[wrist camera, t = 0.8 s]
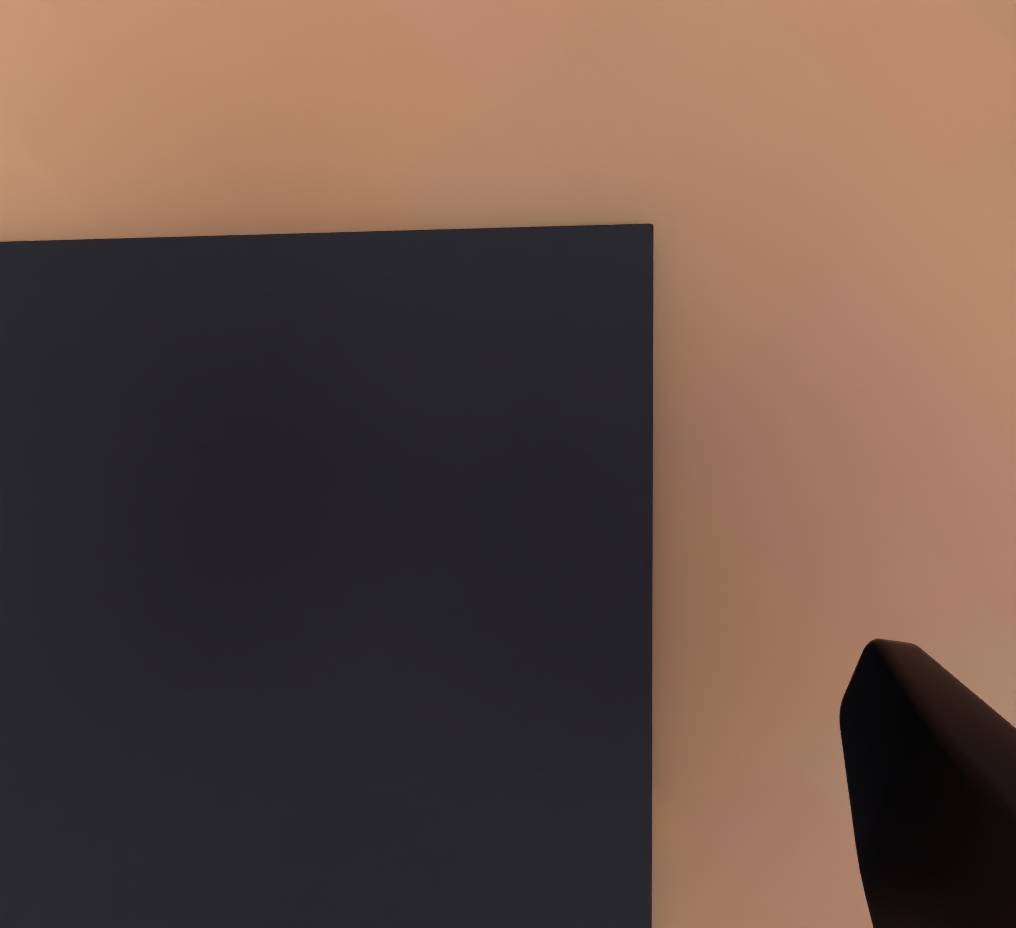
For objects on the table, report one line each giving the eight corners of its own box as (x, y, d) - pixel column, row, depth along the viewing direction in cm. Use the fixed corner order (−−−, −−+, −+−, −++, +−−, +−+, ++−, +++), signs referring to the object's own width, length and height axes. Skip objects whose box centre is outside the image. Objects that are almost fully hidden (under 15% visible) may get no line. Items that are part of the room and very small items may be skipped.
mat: (648, 934, 24) (651, 950, 24) (-97, 933, 25) (-112, 948, 24) (650, 225, 21) (653, 223, 20) (-202, 249, 22) (-223, 247, 21)
